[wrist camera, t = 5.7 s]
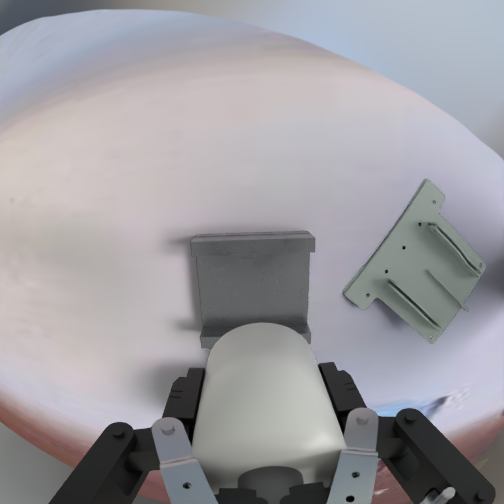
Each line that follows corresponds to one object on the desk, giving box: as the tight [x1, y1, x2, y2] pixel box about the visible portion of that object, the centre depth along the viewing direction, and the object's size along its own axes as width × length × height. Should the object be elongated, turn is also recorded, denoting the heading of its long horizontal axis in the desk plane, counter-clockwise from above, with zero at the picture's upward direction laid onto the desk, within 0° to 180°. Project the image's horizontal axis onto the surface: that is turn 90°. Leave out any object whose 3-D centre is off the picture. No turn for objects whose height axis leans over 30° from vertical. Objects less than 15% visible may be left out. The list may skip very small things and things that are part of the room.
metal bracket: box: [343, 179, 486, 344], centre depth 26 cm, size 14×6×15 cm
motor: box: [191, 231, 315, 348], centre depth 23 cm, size 11×22×10 cm, turn 2°
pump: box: [191, 323, 347, 504], centre depth 10 cm, size 6×6×9 cm
